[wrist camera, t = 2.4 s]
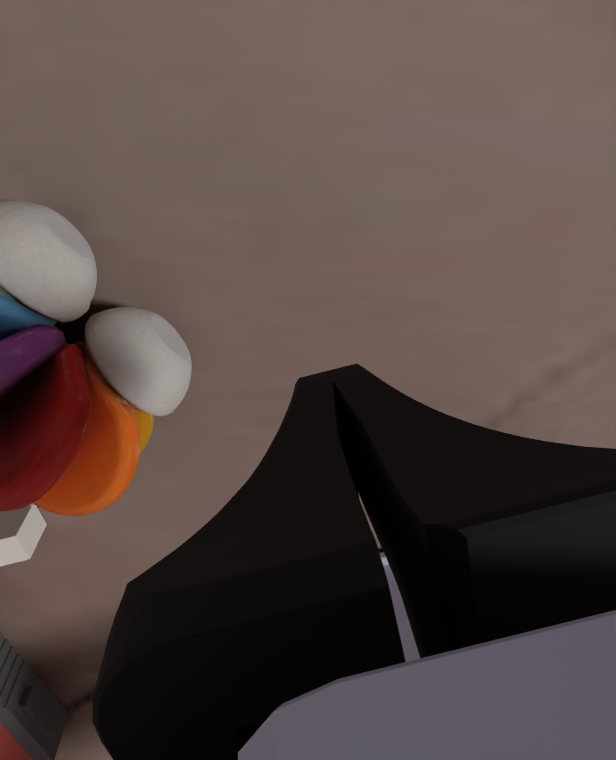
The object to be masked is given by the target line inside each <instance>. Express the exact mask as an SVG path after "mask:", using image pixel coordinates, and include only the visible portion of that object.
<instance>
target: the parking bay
mask: <svg viewBox="0 0 616 760" xmlns="http://www.w3.org/2000/svg"><path fill="white" fill-rule="evenodd" d="M46 525H47V524H46V522H45V520H44V519H43V517H42V515H41V513H40V512H39V510H38V508H37V506H36V505H33V506H27V507H24V508H21V509H18V510H11V511H0V566H4V565H8V564H12V563H16V562H20V561H24V560H28V559H30V558H31V556H32V554H33V552H34V550H35V548H36V546H37V543H38V541H39V539H40V537H41V535H42V533H43V531H44V529H45V527H46Z"/></svg>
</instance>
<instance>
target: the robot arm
mask: <svg viewBox="0 0 616 760" xmlns="http://www.w3.org/2000/svg"><path fill="white" fill-rule="evenodd" d="M358 492H359V494H358ZM359 495H360V497H361V499H362V502H363V504H364V507H365V509H366V511H367V514H368V516H369V519H370V521H371V523H372V526H373V528H374V530H375V533H376V535H377V537H378V540H379V542H380V545H381V547H382V549H383V552H382V553H379V550H378V547H377V544H376V541H375V538H374V536H373V533H372V531H371V529H370V526H369V524H368V521H367V519H366V516H365V513H364V511H363V508H362V506H361V503H360V500H359ZM93 723H94V726H95V728H96V730H97V733H98V735H99V737H100V740H101V742H102V744H103V745H104V746H105V748H106V749H107V751H108V752H109V754H110V755H111V757H112V758H113V760H616V449H610V448H595V447H583V446H575V445H568V444H561V443H554V442H547V441H541V440H535V439H530V438H525V437H520V436H516V435H512V434H507V433H503V432H499V431H495V430H491V429H487V428H484V427H481V426H477V425H474V424H471V423H468V422H466V421H463V420H460V419H457V418H454V417H451V416H449V415H446V414H444V413H441V412H439V411H437V410H434V409H432V408H430V407H428V406H426V405H424V404H422V403H420V402H418V401H416V400H414V399H412V398H410V397H408V396H406V395H405V394H403V393H401V392H400V391H398V390H396V389H394V388H393V387H391V386H390V385H388V384H387V383H385V382H384V381H382V380H381V379H379V378H378V377H376V376H375V375H373V374H372V373H370V372H369V371H368V370H366V369H365V368H363V367H362V366H360V365H358V364H353V365H349V366H345V367H341V368H337V369H333V370H329V371H325V372H321V373H317V374H313V375H309V376H306V377H302V378H299V379H298V381H297V382H296V384H295V388H294V392H293V396H292V399H291V402H290V404H289V407H288V410H287V412H286V414H285V417H284V419H283V421H282V424H281V426H280V428H279V430H278V432H277V434H276V436H275V438H274V440H273V442H272V443H271V445H270V447H269V449H268V451H267V453H266V454H265V456H264V457H263V459H262V461H261V462H260V464H259V465H258V467H257V468H256V470H255V471H254V473H253V474H252V475H251V477H250V478H249V479H248V481H247V482H246V483H245V484H244V485H243V486H242V487H241V489H240V490H239V491H238V492H237V493H236V494H235V495H234V496H233V497H232V498H231V500H230V501H229V502H228V503H227V504H226V505H225V506H224V507H223V508H222V509H221V510H220V511H219V512H218V513H217V514H216V515H215V516H214V517H213V518H212V519H211V520H210V521H209V522H208V523H207V524H206V525H205V526H203V527H202V528H201V529H200V530H199V531H198V532H196V533H195V534H194V535H193V536H192V537H191V538H189V539H188V540H187V541H186V542H185V543H183V544H182V545H181V546H180V547H178V548H177V549H176V550H175V551H173V552H172V553H170V554H169V555H168V556H166V557H165V558H163V559H162V560H161V561H159V562H158V563H156V564H155V565H154V566H152V567H151V568H149V569H148V570H147V571H145V572H144V573H142V574H141V575H140V576H138V577H137V578H135V579H134V580H132V581H130V582H129V583H128V584H127V586H126V589H125V592H124V595H123V598H122V600H121V603H120V605H119V608H118V610H117V613H116V615H115V618H114V622H113V625H112V628H111V631H110V634H109V638H108V641H107V645H106V649H105V653H104V657H103V661H102V665H101V669H100V673H99V676H98V680H97V684H96V688H95V692H94V696H93Z"/></svg>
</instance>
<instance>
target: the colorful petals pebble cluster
mask: <svg viewBox="0 0 616 760" xmlns="http://www.w3.org/2000/svg"><path fill="white" fill-rule="evenodd" d="M96 283H97V269H96V263H95V259H94V255H93V252H92V250H91V248H90V246H89V244H88V243H87V241H86V240H85V239H84V237H83V236H82V234H81V233H80V232H79V231H78V230H77V229H76V228H75V227H74V226H73V225H72V224H71V223H70V222H69V221H68V220H66V219H65V218H64V217H63V216H61V215H60V214H59V213H57V212H56V211H54V210H52V209H50V208H48V207H46V206H43V205H40V204H37V203H32V202H27V201H17V200H11V201H1V202H0V511H11V510H18V509H21V508H24V507H27V506H33V505H36V506H38V507H40V508H42V509H44V510H47V511H49V512H53V513H56V514H60V515H66V516H80V515H87V514H91V513H95V512H98V511H101V510H103V509H105V508H107V507H109V506H111V505H112V504H114V503H116V502H117V501H118V500H119V498H120V497H121V496H122V495H123V494H124V492H125V491H126V490H127V488H128V487H129V485H130V483H131V481H132V479H133V477H134V475H135V472H136V469H137V466H138V462H139V457H140V454H141V453H142V452H143V450H144V449H145V447H146V445H147V444H148V441H149V439H150V437H151V434H152V431H153V425H154V416H166V415H168V414H170V413H171V412H173V411H174V410H175V409H176V408H177V406H178V405H179V404H180V402H181V401H182V400H183V398H184V396H185V394H186V392H187V390H188V387H189V384H190V379H191V370H192V366H191V357H190V354H189V351H188V348H187V346H186V344H185V343H184V341H183V339H182V338H181V337H180V335H179V334H178V332H177V331H176V330H175V329H174V328H173V326H172V325H171V324H170V323H169V322H167V321H166V320H165V319H164V318H163V317H161V316H160V315H158V314H156V313H154V312H152V311H149V310H146V309H142V308H137V307H117V308H112V309H108V310H104V311H101V312H99V313H96V314H94V315H91V316H90V317H89V319H88V321H87V323H86V325H85V340H86V341H78V342H76V343H75V344H73V343H72V344H67V342H66V341H65V337H64V334H63V332H62V331H61V330H59V329H57V328H56V327H55V326H54V325H55V323H56V322H57V321H60V322H70V321H74V320H76V319H78V318H79V317H80V316H82V315H83V314H85V313H86V312H87V311H88V309H89V307H90V303H91V300H92V298H93V296H94V293H95V289H96Z"/></svg>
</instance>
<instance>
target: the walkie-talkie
mask: <svg viewBox="0 0 616 760" xmlns="http://www.w3.org/2000/svg"><path fill="white" fill-rule="evenodd" d="M8 642H9V641H8V640H7V639H4V638H3V637H2V632H1V631H0V760H54V759H55V756H56V752H57V749H58V746H59V742H60V739H61V736H62V732H63V729H64V726H65V722H66V719H67V715H68V713H67V712H66V711H65V709H64V708H63V707H62V706H61V705H60V703H59V702H58V701H57V700H56V698H55V697H54V696H53V695H52V694H51V692H50V691H49V690H48V689H47V687H46V686H45V685H44V684H43V683H42V681H41V680H40V679H39V678H38V676H37V675H36V674H35V673H34V672H33V670H32V669H31V668H30V667H29V665H28V664H27V663H26V662H25V661H22V660H21V659H20V654H16V652H15V651H14V649H15V648H14V647H13V646H12V647H11V646H10V645H9V644H8Z"/></svg>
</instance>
